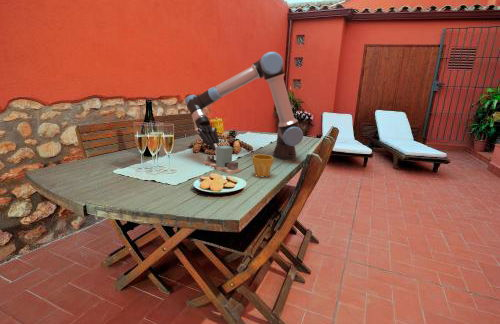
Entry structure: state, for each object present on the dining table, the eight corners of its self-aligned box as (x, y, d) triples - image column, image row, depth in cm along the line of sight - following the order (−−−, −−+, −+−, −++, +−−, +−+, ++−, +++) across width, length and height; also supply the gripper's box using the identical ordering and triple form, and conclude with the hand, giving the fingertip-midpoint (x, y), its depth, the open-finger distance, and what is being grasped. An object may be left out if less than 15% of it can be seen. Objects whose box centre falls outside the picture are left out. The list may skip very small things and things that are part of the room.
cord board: (203, 164, 156) (203, 155, 154) (214, 162, 161) (214, 153, 160) (229, 174, 141) (230, 164, 140) (241, 171, 147) (241, 162, 145)
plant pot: (247, 175, 140) (248, 156, 138) (257, 171, 149) (258, 153, 147) (266, 180, 136) (268, 160, 133) (275, 175, 145) (276, 156, 142)
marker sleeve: (215, 165, 149) (216, 146, 147) (225, 163, 154) (226, 145, 151) (222, 167, 146) (222, 148, 143) (231, 165, 150) (232, 147, 148)
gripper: (207, 123, 165) (225, 157, 158) (188, 124, 155) (206, 160, 149) (213, 115, 160) (231, 149, 153) (194, 115, 151) (212, 152, 144)
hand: (219, 154), depth 151 cm, fingers closed
